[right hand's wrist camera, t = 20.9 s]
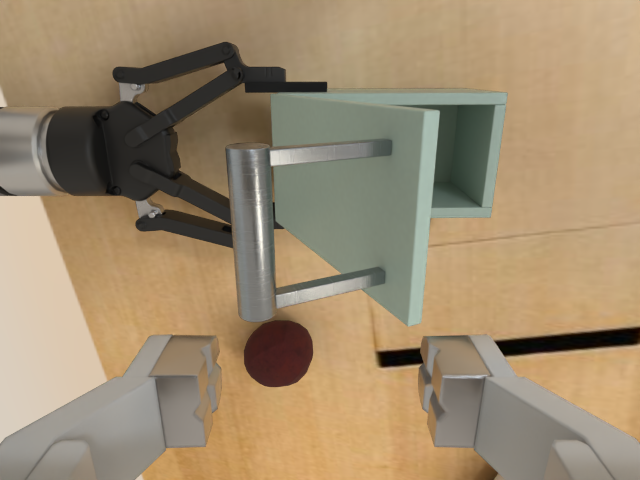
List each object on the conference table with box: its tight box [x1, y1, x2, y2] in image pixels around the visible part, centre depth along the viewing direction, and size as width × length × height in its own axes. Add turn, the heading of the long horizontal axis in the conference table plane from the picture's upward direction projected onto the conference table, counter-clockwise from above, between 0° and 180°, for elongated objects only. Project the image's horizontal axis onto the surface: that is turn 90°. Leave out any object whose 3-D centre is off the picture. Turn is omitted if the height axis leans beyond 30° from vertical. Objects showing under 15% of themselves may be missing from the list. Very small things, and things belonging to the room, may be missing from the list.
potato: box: [244, 320, 313, 387], centre depth 49 cm, size 7×8×7 cm
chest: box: [277, 88, 508, 218], centre depth 40 cm, size 18×10×10 cm, turn 90°
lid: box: [226, 94, 440, 326], centre depth 25 cm, size 18×10×8 cm
